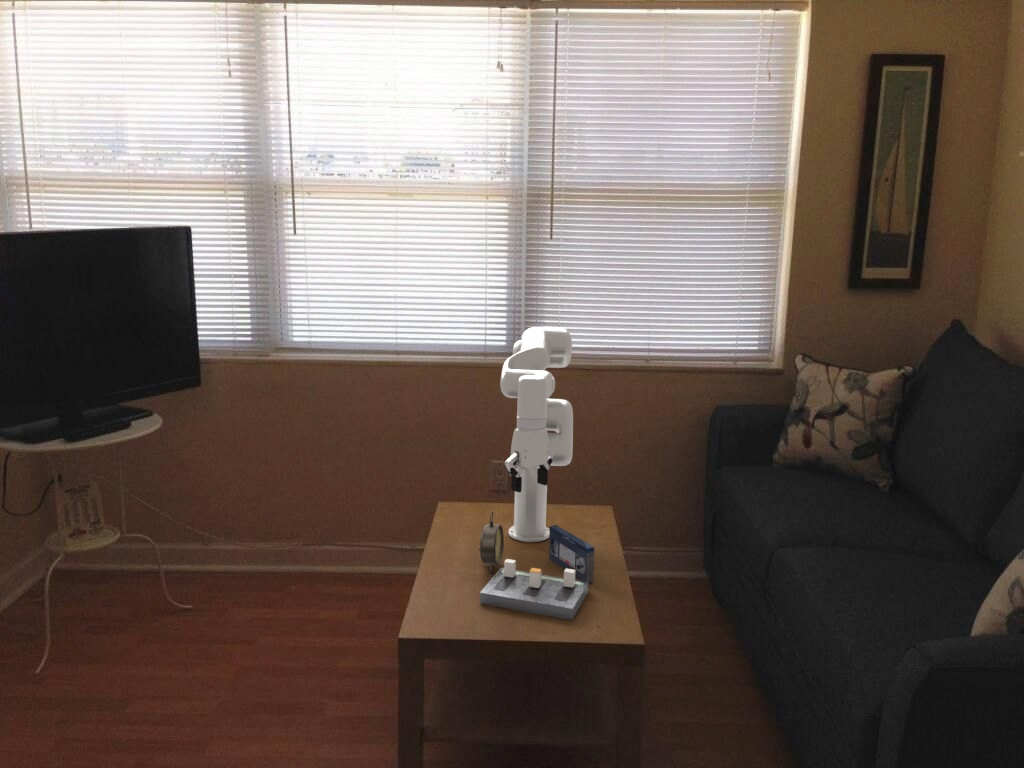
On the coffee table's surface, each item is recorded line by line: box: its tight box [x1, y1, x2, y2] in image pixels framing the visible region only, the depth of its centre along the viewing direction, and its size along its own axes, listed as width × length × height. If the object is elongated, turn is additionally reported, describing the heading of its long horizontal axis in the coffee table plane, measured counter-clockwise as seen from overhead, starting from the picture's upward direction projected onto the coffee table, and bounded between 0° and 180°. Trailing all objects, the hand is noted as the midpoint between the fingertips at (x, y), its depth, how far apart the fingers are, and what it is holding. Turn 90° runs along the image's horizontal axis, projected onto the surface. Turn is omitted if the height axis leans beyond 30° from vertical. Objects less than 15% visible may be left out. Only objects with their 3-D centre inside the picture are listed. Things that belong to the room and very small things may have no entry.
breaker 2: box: [563, 568, 576, 588], centre depth 232 cm, size 2×2×4 cm
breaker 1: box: [503, 558, 517, 578], centre depth 237 cm, size 2×2×4 cm
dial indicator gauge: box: [478, 510, 505, 574], centre depth 248 cm, size 11×5×16 cm, turn 168°
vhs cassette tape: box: [548, 524, 595, 583], centre depth 248 cm, size 18×3×10 cm, turn 29°
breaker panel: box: [479, 567, 590, 621], centre depth 232 cm, size 16×24×3 cm, turn 71°
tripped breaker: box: [529, 567, 542, 588], centre depth 231 cm, size 2×2×4 cm
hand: (529, 487), depth 237 cm, fingers open, 9 cm apart
